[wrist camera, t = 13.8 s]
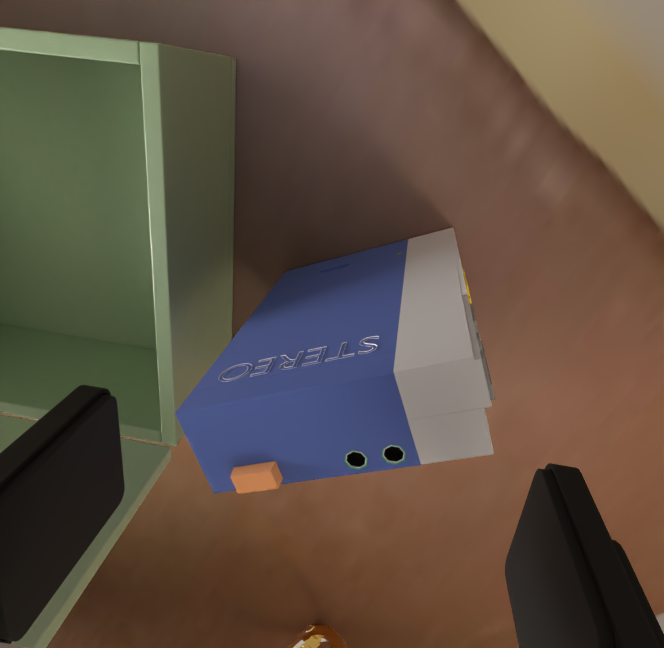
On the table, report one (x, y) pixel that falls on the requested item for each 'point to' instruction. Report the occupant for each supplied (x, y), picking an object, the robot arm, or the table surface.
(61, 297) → the chest
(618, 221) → the table surface
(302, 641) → the ring
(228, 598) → the table surface
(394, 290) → the walkman
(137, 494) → the chest lid
